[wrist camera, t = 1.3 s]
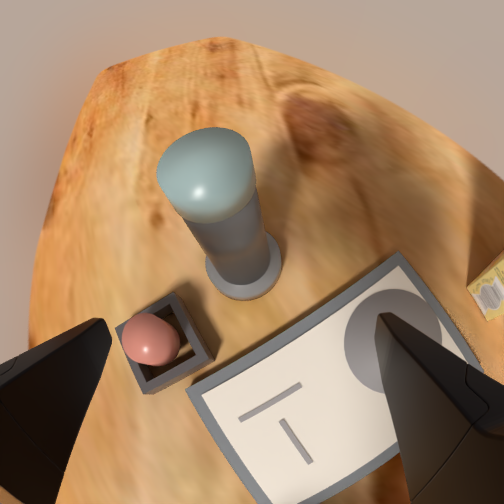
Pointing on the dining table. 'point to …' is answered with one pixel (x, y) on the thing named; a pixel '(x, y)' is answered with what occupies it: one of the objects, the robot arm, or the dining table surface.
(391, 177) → the dining table surface
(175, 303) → the button housing
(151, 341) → the button
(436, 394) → the robot arm
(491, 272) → the candy box
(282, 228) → the dining table surface
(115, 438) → the dining table surface
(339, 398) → the drawing board
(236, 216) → the grey tall round-topped cylinder
